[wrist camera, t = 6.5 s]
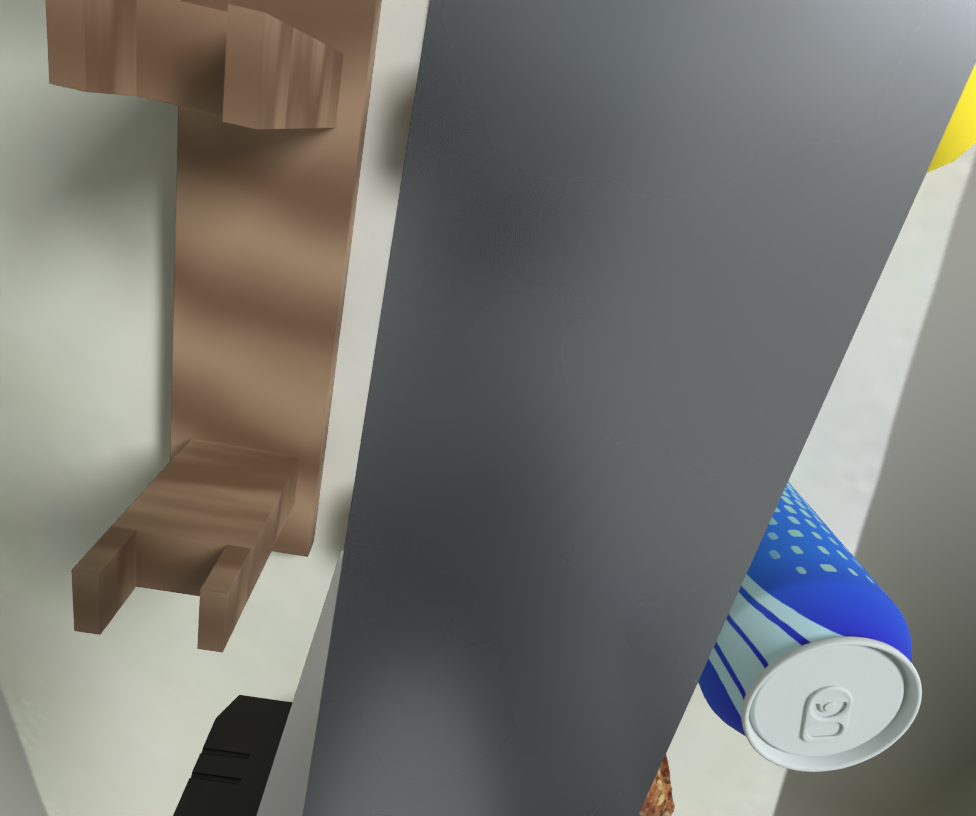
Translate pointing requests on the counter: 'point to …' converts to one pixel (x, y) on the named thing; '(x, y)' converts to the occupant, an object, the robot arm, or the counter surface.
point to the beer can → (812, 652)
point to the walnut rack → (234, 277)
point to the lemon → (959, 127)
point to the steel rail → (603, 373)
